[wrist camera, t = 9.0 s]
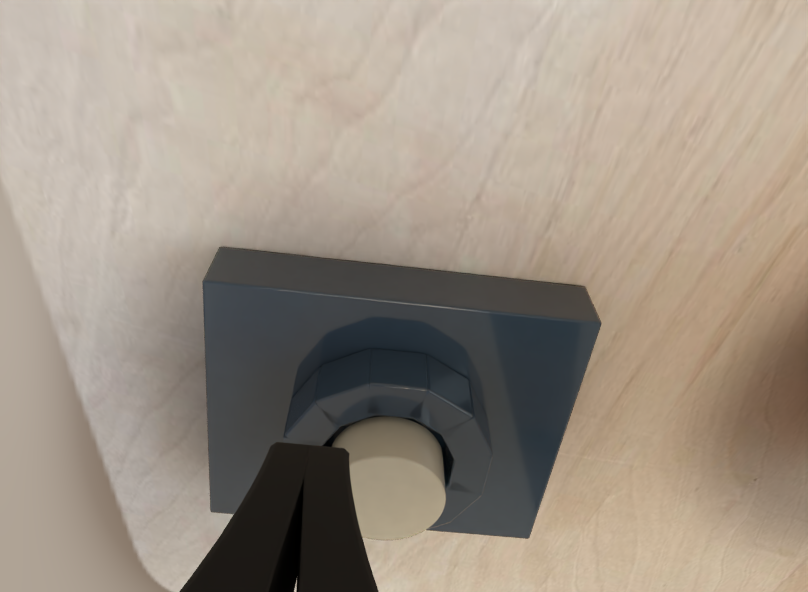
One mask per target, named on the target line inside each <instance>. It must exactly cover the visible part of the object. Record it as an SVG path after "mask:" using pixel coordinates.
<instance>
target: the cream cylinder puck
mask: <svg viewBox="0 0 808 592" xmlns="http://www.w3.org/2000/svg"><path fill="white" fill-rule="evenodd" d="M332 447H338V448H345V449H346V450H347V451H348V452H349V453H350V454H349V466H350V479H351V486H352V493H353V499H354V504H355V510H356V514H357V519H358V523H359V527H360V531H361V535H362V537H364V538H368V539H374V540H398V539H404V538H408V537H411V536H414V535H417V534H419V533H421V532H423V531H425V530H426V529H428V528H429V527H431V526H432V525H433V524H434V523H435V522H436V521H437V520H438V518H439V517H440V516H441V514H442V512H443V510H444V507H445V503H446V490H445V476H444V462H443V452H442V448H441V446H440V444H439V442H438V440H437V439H436V437H435V436H434V435H433V434H432V433H431V432H430V431H429V430H428V429H426V428H425V427H423V426H422V425H420V424H418V423H416V422H414V421H411V420H408V419H405V418H401V417H390V416H377V417H371V418H367V419H363V420H360V421H358V422H356V423H354V424H352V425H350V426H348V427H347V428H346V429H344V430H343V431H342V432H341V433H340V434H339V435H338V436H337V438H336V439H335V441H334V442H333V444H332Z"/></svg>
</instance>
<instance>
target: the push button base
mask: <svg viewBox="0 0 808 592" xmlns="http://www.w3.org/2000/svg"><path fill="white" fill-rule="evenodd" d="M202 283H203V312H204V341H205V369H206V398H207V427H208V455H209V484H210V510H211V512H214V513H226V514H235V512H236V511H237V509H238V507H239V506H240V504H241V503H242V501H243V499H244V498H245V496H246V494H247V492H248V491H249V489H250V487H251V485H252V484H253V482H254V480H255V478H256V476H257V474H258V472H259V470H260V468H261V466H262V464H263V462H264V460H265V458H266V456H267V453H268V451H269V448H270V446H271V445H273V444H274V443H276V442H282V443H294V444H305V445H316V446H327V447H332V444H333V442H334V441H335V439H336V438H337V436H338V435H339V434H340V433H341V432H342V431H343V430H344V429H346V428H347V427H348V426H350V425H352V424H354V423H356V422H358V421H360V420H363V419H367V418H371V417H377V416H390V417H401V418H405V419H408V420H411V421H414V422H416V423H418V424H420V425H422V426H423V427H425V428H426V429H428V430H429V431H430V432H431V433H432V434H433V435H434V436H435V437H436V439H437V440H438V442H439V444H440V446H441V448H442V452H443V462H444V476H445V490H446V503H445V507H444V510H443V512H442V514H441V516H440V517H439V518H438V520H437V521H436V522H435V523H434V524H433V525H432V526H431V527H429V528H428V529H426V530H430V531H442V532H454V533H466V534H478V535H490V536H502V537H514V538H526V539H528V538H529V537H530V534H531V531H532V528H533V525H534V522H535V519H536V516H537V513H538V510H539V507H540V504H541V501H542V498H543V495H544V492H545V489H546V487H547V484H548V481H549V478H550V475H551V472H552V469H553V466H554V463H555V460H556V457H557V454H558V451H559V448H560V445H561V442H562V439H563V436H564V433H565V430H566V427H567V424H568V421H569V418H570V416H571V413H572V410H573V407H574V404H575V401H576V398H577V395H578V392H579V389H580V386H581V383H582V380H583V377H584V374H585V371H586V368H587V365H588V362H589V359H590V356H591V353H592V350H593V347H594V345H595V342H596V339H597V336H598V333H599V330H600V327H601V321H600V318H599V316H598V314H597V312H596V309H595V307H594V305H593V303H592V300H591V298H590V296H589V294H588V292H587V289H586V288H585V287H583V286H574V285H564V284H555V283H546V282H537V281H528V280H519V279H510V278H501V277H492V276H482V275H473V274H464V273H455V272H446V271H437V270H428V269H419V268H409V267H400V266H391V265H382V264H373V263H364V262H355V261H346V260H336V259H327V258H318V257H309V256H300V255H291V254H282V253H273V252H264V251H254V250H245V249H236V248H227V247H219V249H218V251H217V253H216V255H215V257H214V259H213V261H212V263H211V265H210V267H209V269H208V271H207V273H206V275H205V277H204V279H203V281H202Z"/></svg>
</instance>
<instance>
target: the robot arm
mask: <svg viewBox="0 0 808 592" xmlns="http://www.w3.org/2000/svg"><path fill="white" fill-rule="evenodd" d="M349 454H350V453H349V452H348V451H347V450H346V449H345V448H338V447H327V446H316V445H305V444H294V443H282V442H276V443H274V444H273V445H271V446H270V448H269V451H268V453H267V456H266V458H265V460H264V462H263V464H262V466H261V468H260V470H259V472H258V474H257V476H256V478H255V480H254V482H253V484H252V485H251V487H250V489H249V491H248V492H247V494H246V496H245V498H244V499H243V501H242V503H241V504H240V506H239V507H238V509H237V511H236V512H235V514H234V515H233V517H232V518H231V520H230V522H229V523H228V525H227V526H226V528H225V529H224V531H223V533H222V534H221V536H220V537H219V539H218V540H217V541H216V543H215V544H214V546H213V547H212V548H211V550H210V551H209V553H208V554H207V555H206V557H205V558H204V560H203V561H202V562H201V564H200V565H199V566H198V568H197V569H196V571H195V572H194V573H193V575H192V576H191V577H190V579H189V580H188V581H187V583H186V584H185V585H184V587H183V588H182V589H181V590H180V592H294V588H295V584H296V580H297V592H378V589H377V586H376V583H375V580H374V577H373V574H372V571H371V567H370V564H369V561H368V557H367V554H366V550H365V546H364V542H363V539H362V535H361V531H360V527H359V523H358V519H357V514H356V510H355V504H354V499H353V493H352V486H351V479H350V466H349Z"/></svg>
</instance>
